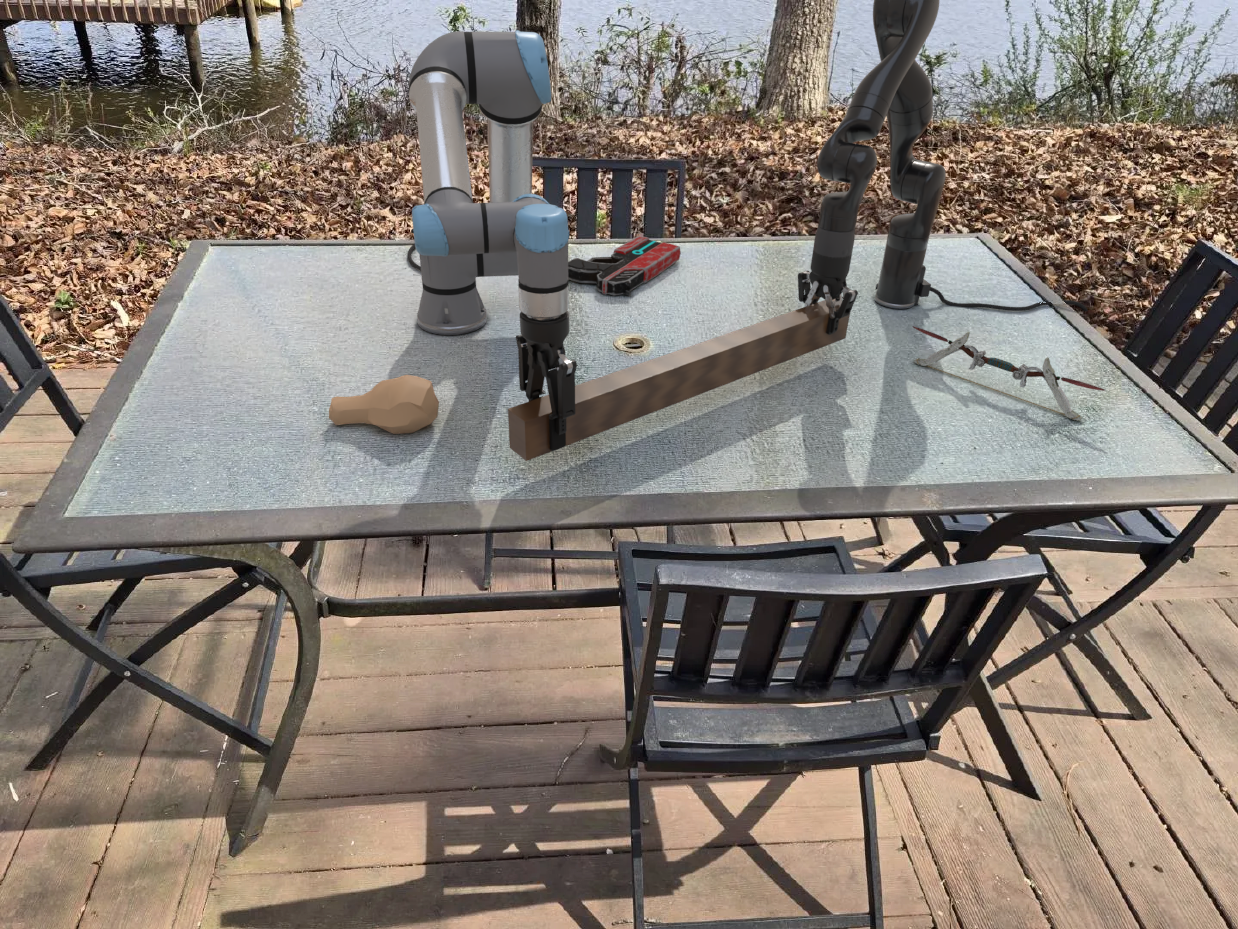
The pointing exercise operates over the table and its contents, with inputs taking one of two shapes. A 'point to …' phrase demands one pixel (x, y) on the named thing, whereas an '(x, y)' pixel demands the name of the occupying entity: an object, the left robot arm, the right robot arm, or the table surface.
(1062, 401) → the bow
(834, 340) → the post
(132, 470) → the table surface
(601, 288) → the gun
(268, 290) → the table surface
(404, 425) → the squash
